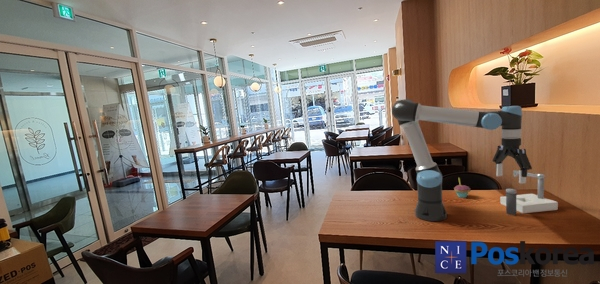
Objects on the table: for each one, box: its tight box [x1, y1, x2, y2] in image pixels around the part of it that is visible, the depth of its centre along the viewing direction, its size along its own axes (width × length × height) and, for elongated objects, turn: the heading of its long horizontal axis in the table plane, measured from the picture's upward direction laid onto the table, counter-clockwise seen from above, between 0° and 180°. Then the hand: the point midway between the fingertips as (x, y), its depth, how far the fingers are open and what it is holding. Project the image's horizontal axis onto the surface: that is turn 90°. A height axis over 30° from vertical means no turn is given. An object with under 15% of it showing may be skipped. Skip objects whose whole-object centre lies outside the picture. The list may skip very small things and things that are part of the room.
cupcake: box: [453, 177, 471, 199], centre depth 158 cm, size 9×8×12 cm
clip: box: [512, 169, 546, 180], centre depth 140 cm, size 15×3×4 cm, turn 15°
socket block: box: [499, 178, 559, 214], centre depth 135 cm, size 18×14×15 cm
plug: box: [505, 188, 518, 216], centre depth 129 cm, size 4×4×12 cm
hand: (510, 179), depth 128 cm, fingers open, 13 cm apart
